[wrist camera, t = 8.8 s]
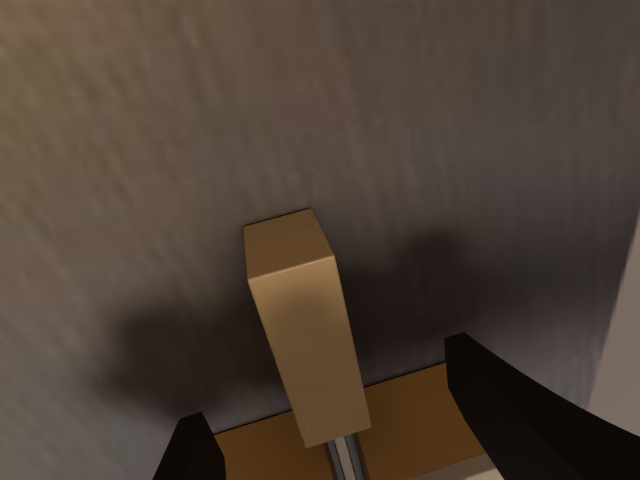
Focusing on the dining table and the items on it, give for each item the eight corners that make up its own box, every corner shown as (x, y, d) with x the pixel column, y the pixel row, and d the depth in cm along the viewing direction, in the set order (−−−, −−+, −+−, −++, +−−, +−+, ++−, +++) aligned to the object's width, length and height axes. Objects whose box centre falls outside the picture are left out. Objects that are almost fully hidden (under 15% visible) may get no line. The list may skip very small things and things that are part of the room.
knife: (242, 226, 13) (246, 280, 10) (311, 207, 13) (334, 254, 10) (345, 540, 21) (363, 617, 19) (386, 526, 22) (410, 600, 19)
